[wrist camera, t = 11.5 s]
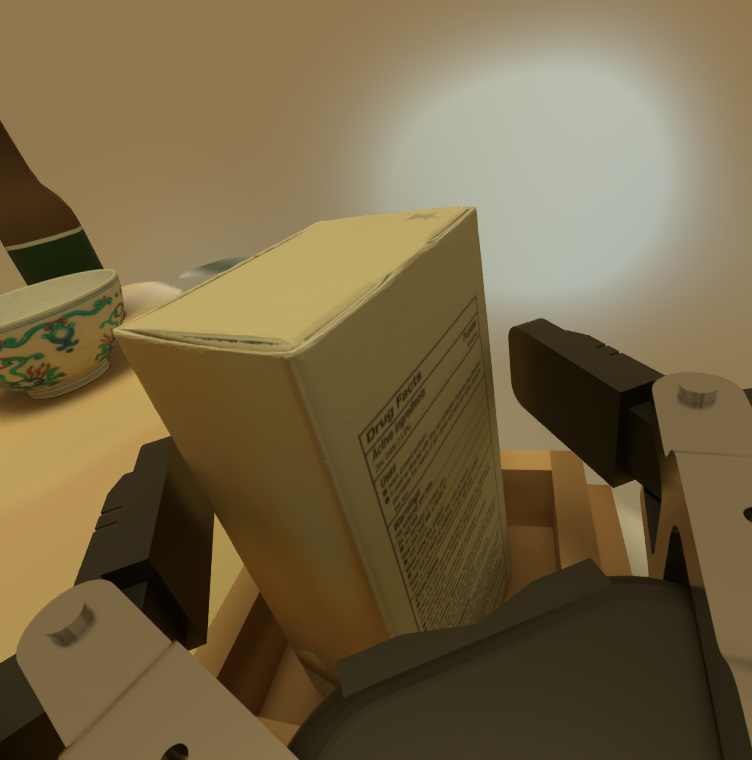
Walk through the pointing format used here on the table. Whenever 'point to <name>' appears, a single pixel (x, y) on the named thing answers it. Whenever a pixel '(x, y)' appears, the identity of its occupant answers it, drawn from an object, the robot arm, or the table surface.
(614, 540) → the holder
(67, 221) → the beer bottle
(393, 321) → the skincare box
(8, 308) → the chinaware
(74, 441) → the table surface
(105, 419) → the table surface
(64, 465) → the table surface
